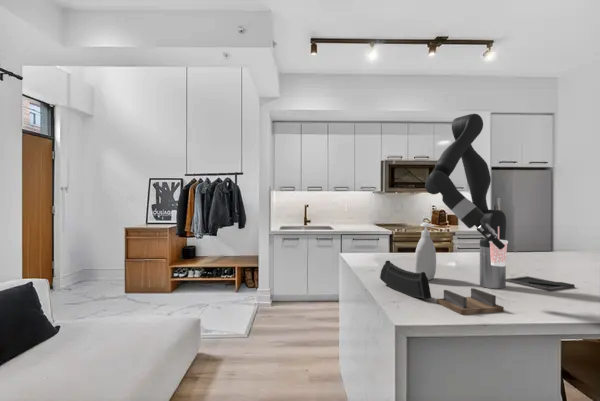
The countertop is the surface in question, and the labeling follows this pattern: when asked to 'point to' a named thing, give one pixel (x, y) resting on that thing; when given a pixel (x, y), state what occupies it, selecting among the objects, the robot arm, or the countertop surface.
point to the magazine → (405, 281)
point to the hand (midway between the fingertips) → (503, 246)
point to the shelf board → (470, 302)
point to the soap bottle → (425, 254)
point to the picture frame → (540, 283)
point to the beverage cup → (498, 253)
